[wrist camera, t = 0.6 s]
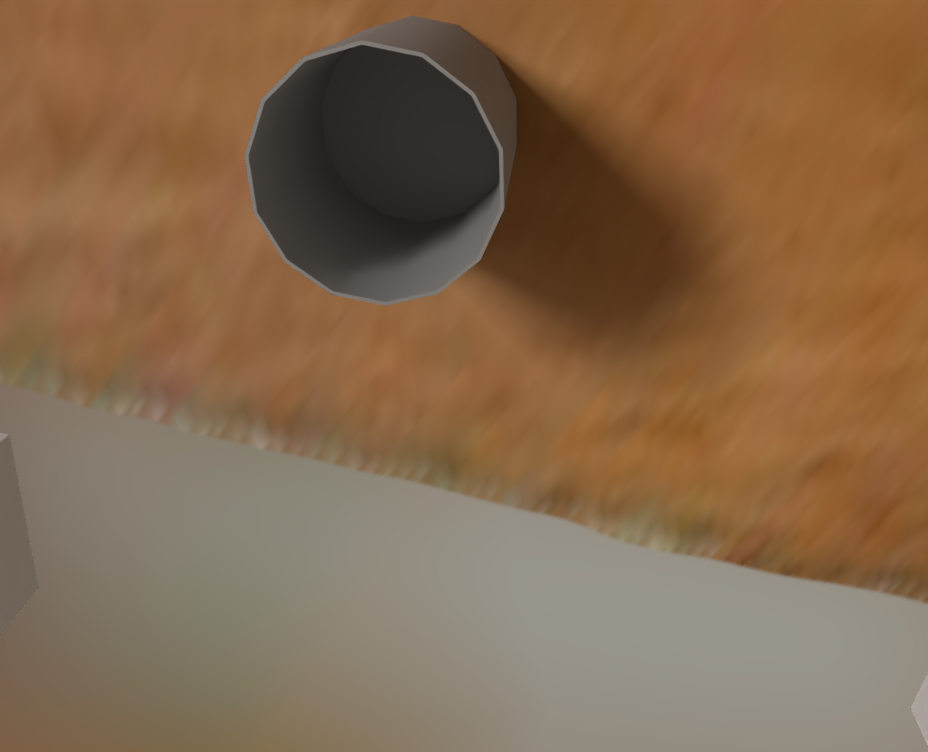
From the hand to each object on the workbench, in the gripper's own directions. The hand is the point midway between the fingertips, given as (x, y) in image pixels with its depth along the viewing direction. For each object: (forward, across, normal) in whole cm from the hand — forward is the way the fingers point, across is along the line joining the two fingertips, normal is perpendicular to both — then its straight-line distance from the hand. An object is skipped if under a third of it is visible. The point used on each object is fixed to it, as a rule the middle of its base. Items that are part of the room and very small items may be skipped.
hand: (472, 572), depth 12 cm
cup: (+27, -5, +1) cm, 28 cm away
